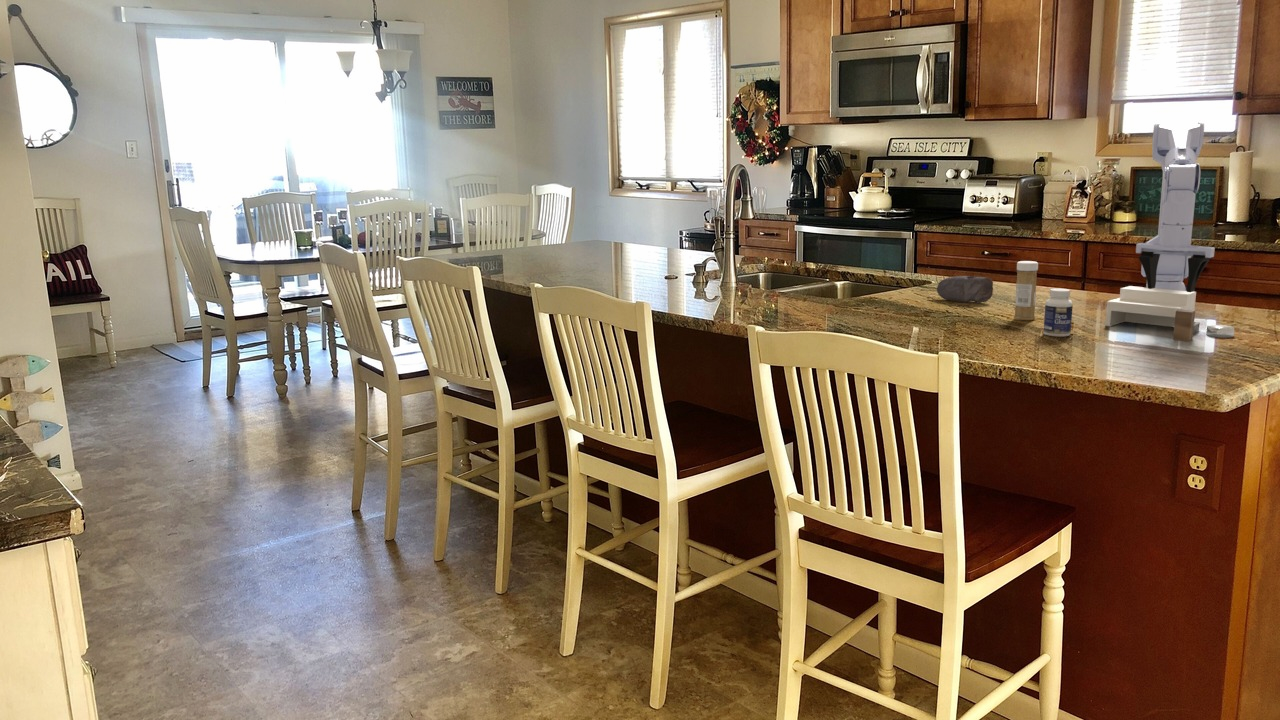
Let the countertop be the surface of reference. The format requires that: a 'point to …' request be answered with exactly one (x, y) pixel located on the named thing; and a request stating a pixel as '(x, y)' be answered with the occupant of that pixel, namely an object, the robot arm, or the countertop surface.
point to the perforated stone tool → (966, 289)
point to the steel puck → (1220, 331)
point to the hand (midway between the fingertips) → (1170, 289)
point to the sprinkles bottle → (1026, 290)
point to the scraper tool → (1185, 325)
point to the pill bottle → (1058, 313)
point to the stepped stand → (1148, 306)
